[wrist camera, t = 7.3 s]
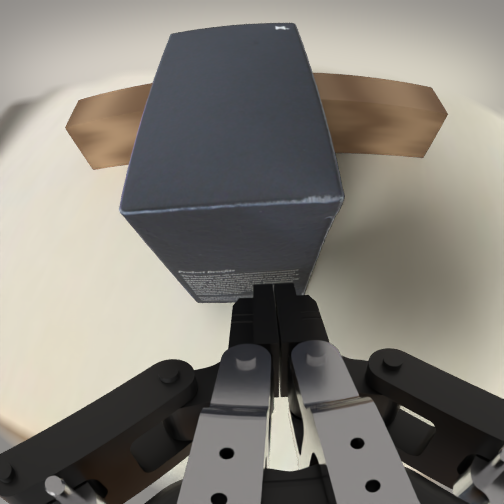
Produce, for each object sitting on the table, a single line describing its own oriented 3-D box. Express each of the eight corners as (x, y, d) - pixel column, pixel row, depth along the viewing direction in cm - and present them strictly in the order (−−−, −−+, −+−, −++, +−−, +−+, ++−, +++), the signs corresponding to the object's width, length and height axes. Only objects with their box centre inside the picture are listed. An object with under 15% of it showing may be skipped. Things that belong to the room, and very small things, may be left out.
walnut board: (93, 169, 21) (65, 127, 17) (102, 142, 22) (78, 100, 18) (423, 157, 21) (447, 114, 16) (411, 130, 22) (431, 87, 17)
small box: (198, 157, 21) (165, 29, 11) (289, 153, 21) (300, 19, 11) (189, 305, 17) (104, 211, 7) (306, 301, 17) (359, 197, 7)
